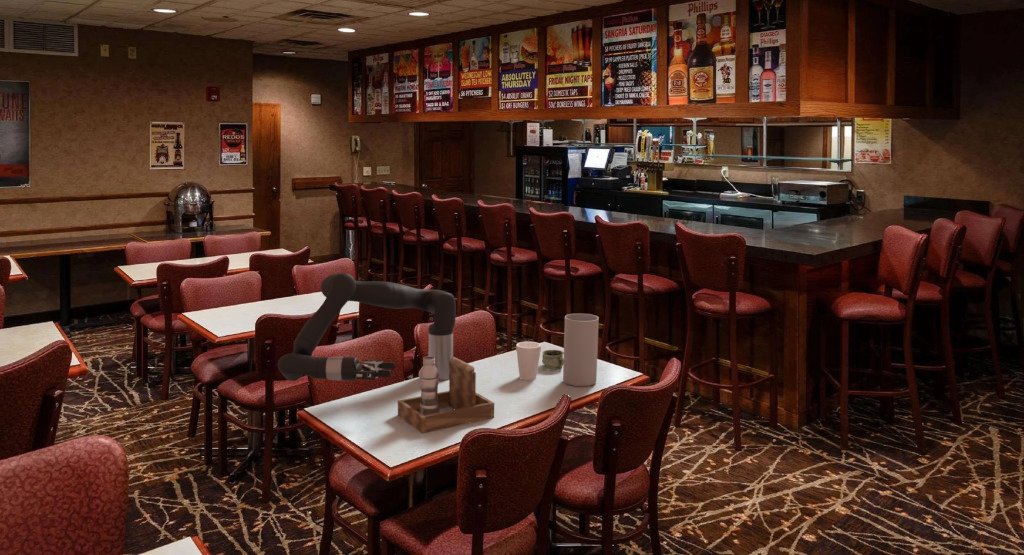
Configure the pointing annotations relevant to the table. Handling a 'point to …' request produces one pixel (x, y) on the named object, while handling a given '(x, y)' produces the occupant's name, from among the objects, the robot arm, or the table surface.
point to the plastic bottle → (429, 387)
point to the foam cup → (528, 359)
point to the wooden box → (450, 402)
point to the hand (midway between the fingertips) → (392, 369)
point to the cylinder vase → (580, 349)
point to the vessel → (553, 359)
